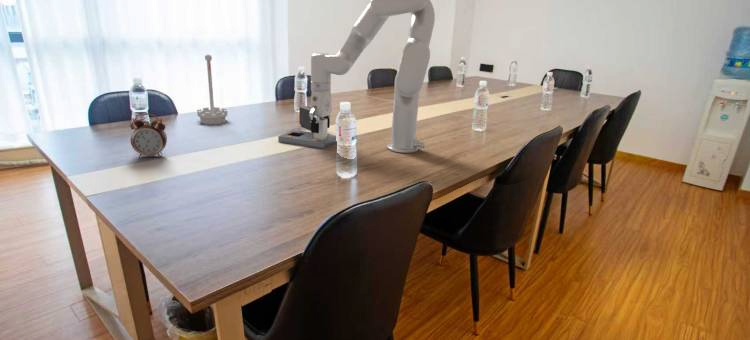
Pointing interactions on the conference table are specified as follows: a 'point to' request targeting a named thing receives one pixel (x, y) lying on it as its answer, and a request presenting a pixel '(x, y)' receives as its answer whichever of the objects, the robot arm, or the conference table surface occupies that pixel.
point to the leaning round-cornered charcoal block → (305, 117)
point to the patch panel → (306, 139)
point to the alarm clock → (148, 136)
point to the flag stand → (211, 103)
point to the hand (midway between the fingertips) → (320, 129)
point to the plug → (321, 129)
